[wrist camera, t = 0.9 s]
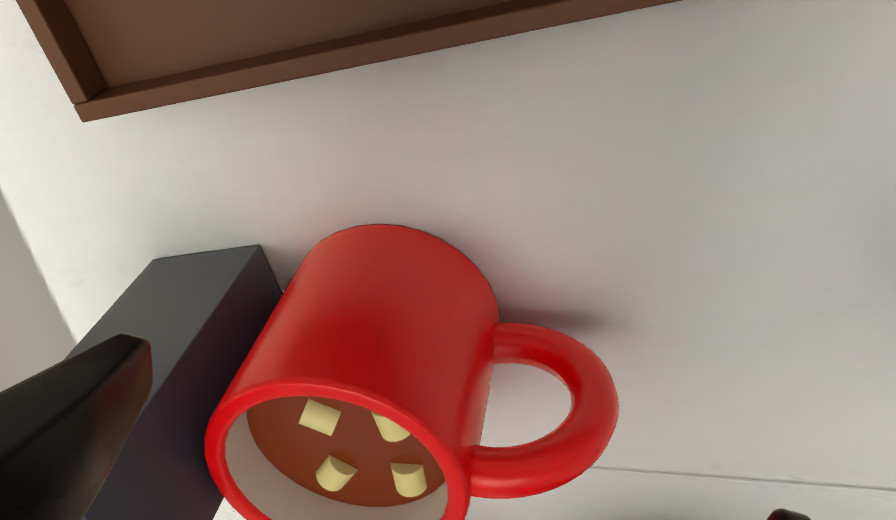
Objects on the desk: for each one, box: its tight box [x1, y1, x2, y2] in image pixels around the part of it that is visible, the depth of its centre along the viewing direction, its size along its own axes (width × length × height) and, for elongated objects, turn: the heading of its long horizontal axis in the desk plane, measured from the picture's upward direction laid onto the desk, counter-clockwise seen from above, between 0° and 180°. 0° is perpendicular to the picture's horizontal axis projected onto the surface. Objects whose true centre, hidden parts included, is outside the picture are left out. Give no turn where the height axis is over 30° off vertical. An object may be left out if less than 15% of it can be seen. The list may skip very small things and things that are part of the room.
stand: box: [64, 245, 282, 520], centre depth 24 cm, size 5×5×12 cm
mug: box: [204, 224, 619, 520], centre depth 24 cm, size 8×12×8 cm, turn 97°
